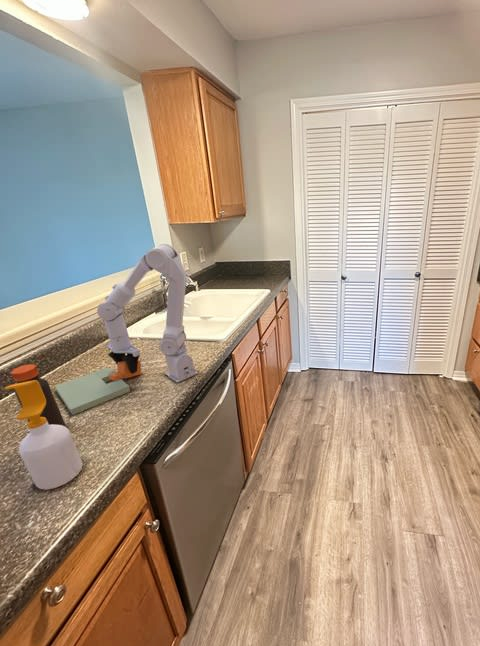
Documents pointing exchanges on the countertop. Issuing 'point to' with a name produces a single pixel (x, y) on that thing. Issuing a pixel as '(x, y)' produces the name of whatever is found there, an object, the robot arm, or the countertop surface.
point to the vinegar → (51, 408)
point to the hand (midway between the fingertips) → (129, 370)
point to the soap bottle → (45, 441)
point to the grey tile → (90, 390)
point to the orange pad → (124, 371)
